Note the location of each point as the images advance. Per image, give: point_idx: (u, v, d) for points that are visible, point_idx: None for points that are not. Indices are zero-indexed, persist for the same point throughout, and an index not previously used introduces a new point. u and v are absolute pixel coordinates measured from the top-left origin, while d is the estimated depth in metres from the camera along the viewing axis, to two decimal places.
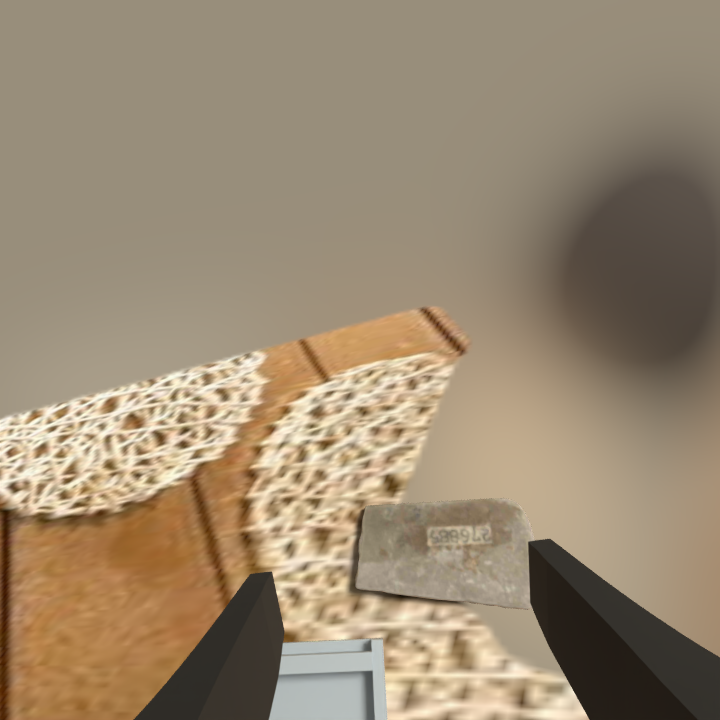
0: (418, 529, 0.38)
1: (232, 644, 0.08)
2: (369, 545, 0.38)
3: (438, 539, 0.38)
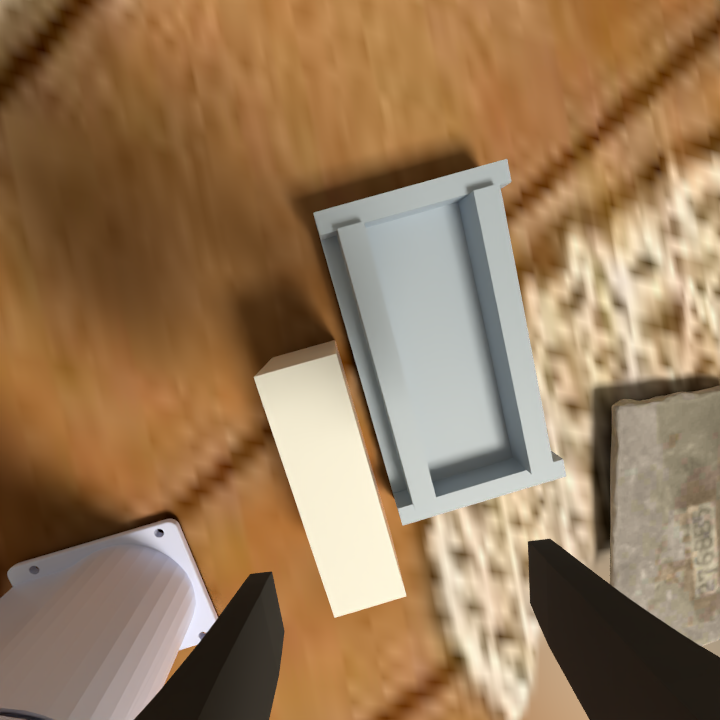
0: (710, 488, 0.22)
1: (232, 644, 0.08)
2: (681, 413, 0.21)
3: (697, 521, 0.22)
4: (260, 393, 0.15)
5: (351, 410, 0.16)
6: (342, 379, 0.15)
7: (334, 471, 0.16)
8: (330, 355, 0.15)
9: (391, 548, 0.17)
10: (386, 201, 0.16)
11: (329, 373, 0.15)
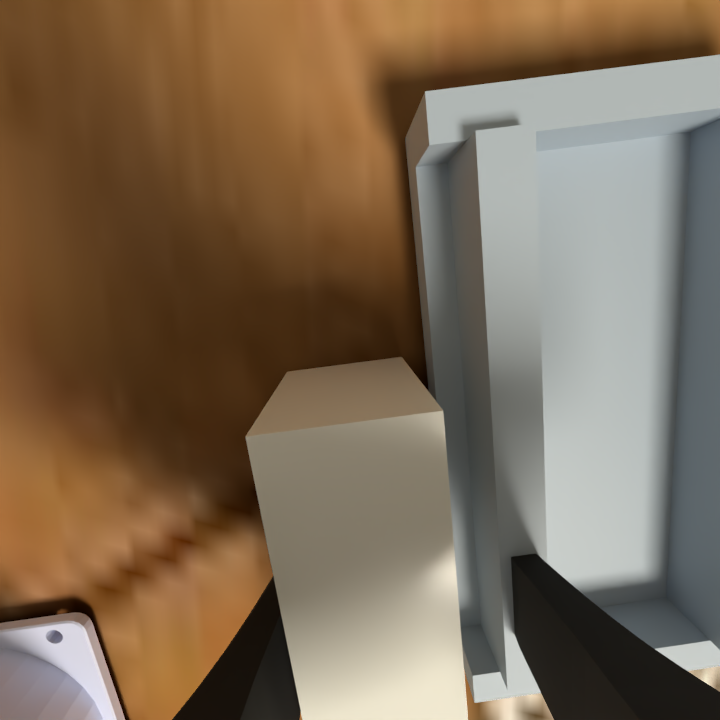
0: None
1: (267, 640, 0.08)
2: None
3: None
4: (255, 474, 0.07)
5: (450, 534, 0.07)
6: (445, 468, 0.07)
7: (388, 650, 0.08)
8: (428, 412, 0.07)
9: None
10: (583, 92, 0.08)
11: (418, 452, 0.07)
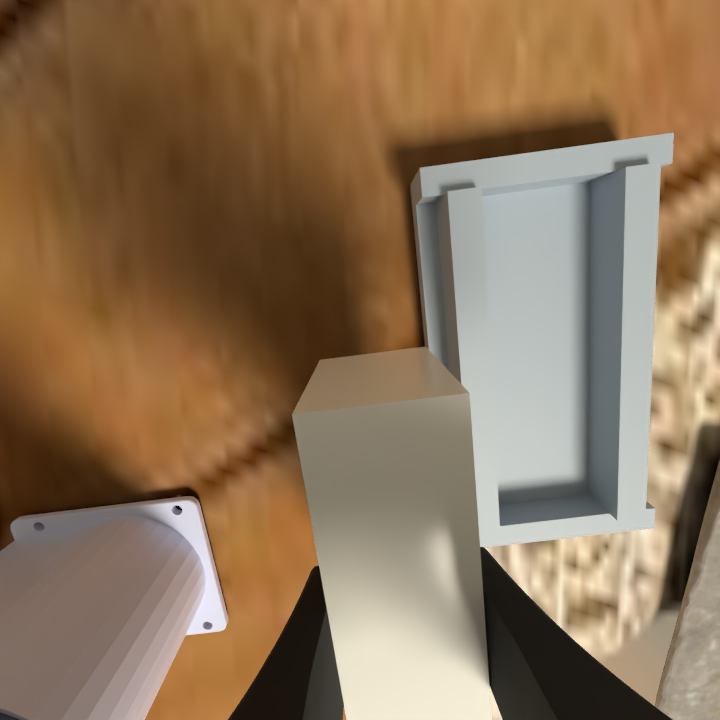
0: None
1: (317, 634, 0.08)
2: None
3: None
4: (300, 448, 0.07)
5: (474, 507, 0.08)
6: (470, 446, 0.07)
7: (416, 611, 0.08)
8: (455, 394, 0.07)
9: None
10: (511, 166, 0.13)
11: (446, 430, 0.07)
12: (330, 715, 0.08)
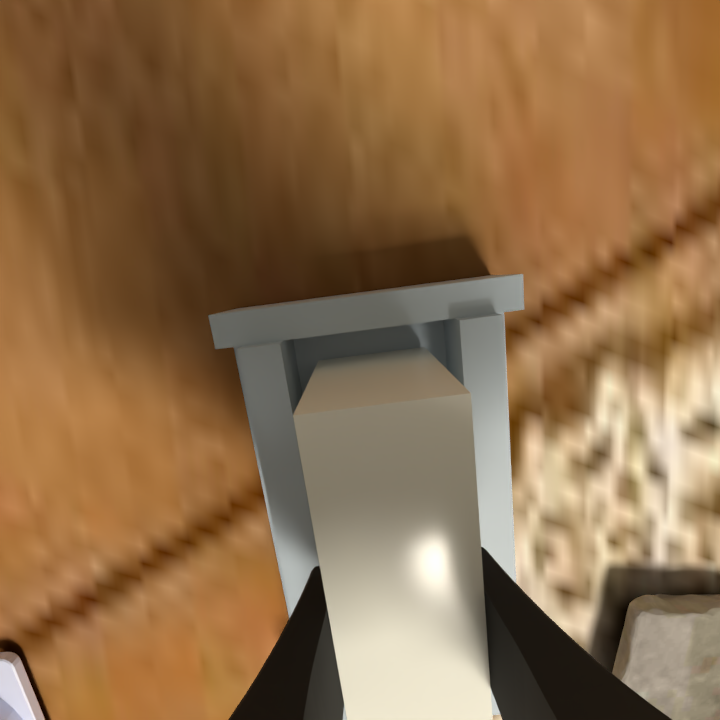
0: None
1: (318, 634, 0.08)
2: None
3: None
4: (301, 449, 0.07)
5: (475, 507, 0.08)
6: (472, 446, 0.07)
7: (417, 612, 0.08)
8: (457, 394, 0.07)
9: None
10: (323, 313, 0.11)
11: (448, 430, 0.07)
12: (330, 715, 0.08)
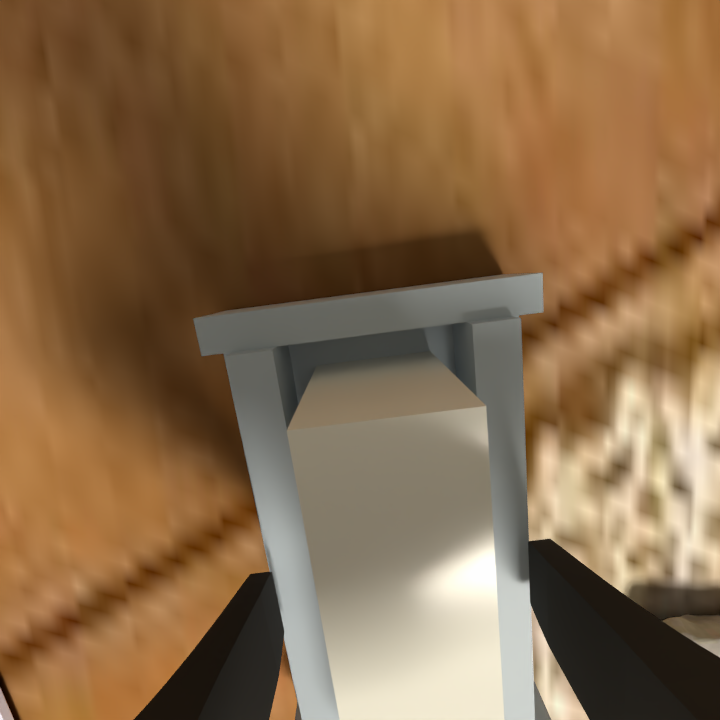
0: None
1: (232, 644, 0.08)
2: None
3: None
4: (296, 468, 0.07)
5: (490, 531, 0.07)
6: (487, 464, 0.07)
7: (425, 646, 0.07)
8: (470, 407, 0.06)
9: None
10: (320, 316, 0.10)
11: (460, 447, 0.07)
12: None
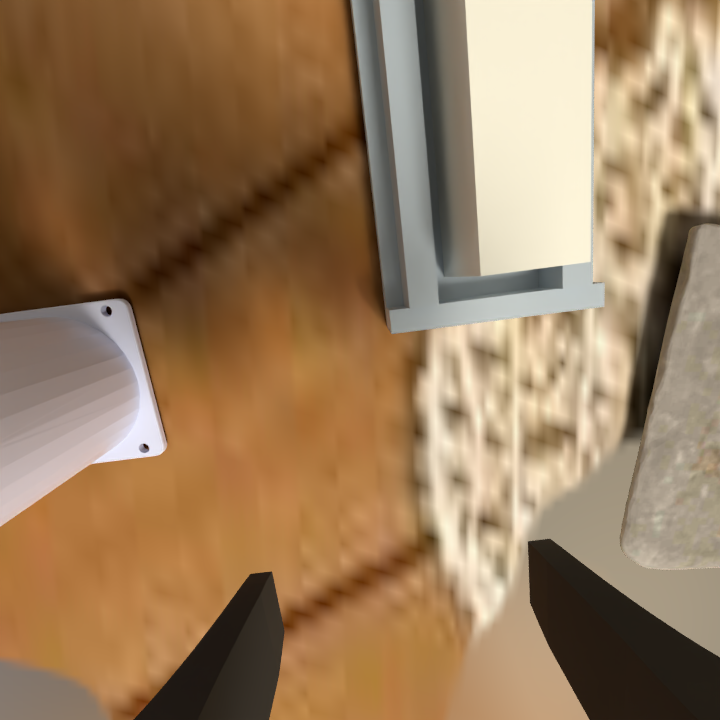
0: None
1: (232, 644, 0.08)
2: None
3: None
4: None
5: None
6: None
7: (537, 9, 0.10)
8: None
9: (589, 173, 0.11)
10: None
11: None
12: None
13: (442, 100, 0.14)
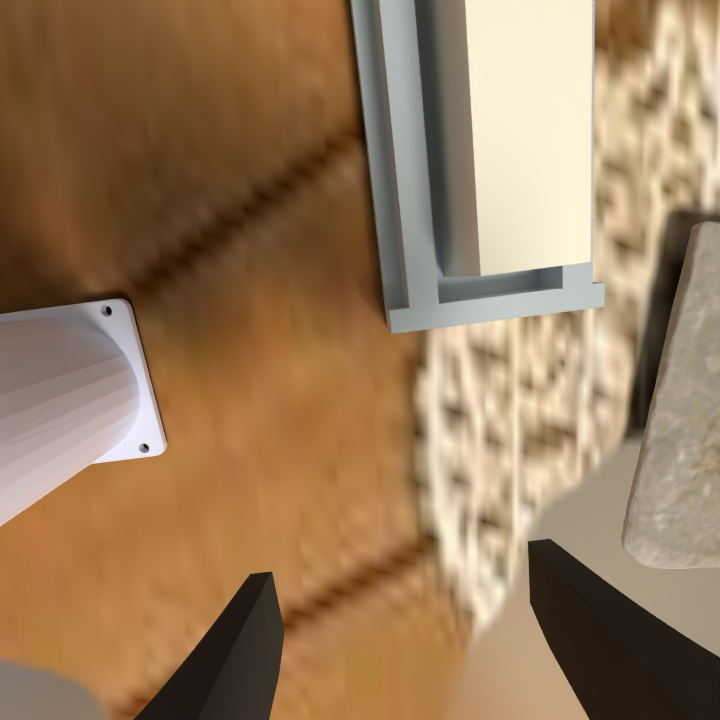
0: None
1: (232, 644, 0.08)
2: None
3: None
4: None
5: None
6: None
7: (537, 9, 0.10)
8: None
9: (589, 173, 0.11)
10: None
11: None
12: None
13: (442, 100, 0.14)
